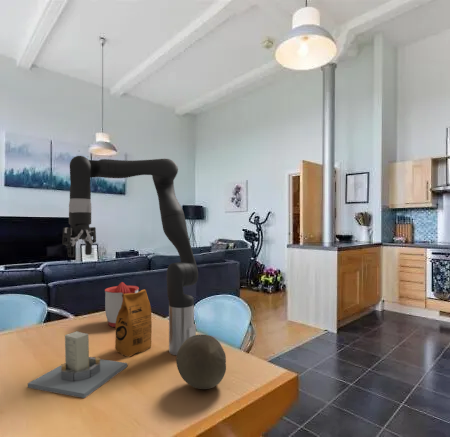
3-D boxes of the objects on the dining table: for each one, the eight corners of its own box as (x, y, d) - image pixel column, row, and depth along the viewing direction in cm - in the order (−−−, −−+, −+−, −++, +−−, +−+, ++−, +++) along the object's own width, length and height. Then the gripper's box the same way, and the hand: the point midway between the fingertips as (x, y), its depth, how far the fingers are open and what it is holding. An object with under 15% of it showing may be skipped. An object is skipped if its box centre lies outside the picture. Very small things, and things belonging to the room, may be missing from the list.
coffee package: (111, 351, 118) (111, 292, 118) (139, 342, 128) (139, 287, 128) (127, 358, 112) (127, 296, 112) (155, 347, 122) (155, 290, 122)
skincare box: (89, 373, 98) (89, 334, 99) (76, 379, 95) (76, 338, 95) (77, 368, 102) (77, 330, 102) (64, 374, 98) (64, 334, 98)
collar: (106, 367, 103) (106, 356, 103) (82, 383, 92) (82, 371, 92) (79, 362, 106) (79, 353, 106) (52, 378, 95) (52, 367, 95)
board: (127, 366, 106) (127, 362, 106) (84, 398, 87) (84, 393, 87) (78, 359, 111) (78, 355, 111) (27, 387, 92) (27, 383, 92)
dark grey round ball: (201, 372, 102) (201, 325, 102) (236, 386, 93) (235, 334, 93) (167, 390, 91) (167, 337, 91) (202, 408, 82) (202, 349, 82)
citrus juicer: (114, 333, 138) (114, 287, 139) (99, 323, 151) (99, 282, 152) (146, 325, 149) (146, 282, 149) (130, 317, 162) (130, 278, 162)
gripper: (85, 212, 124) (85, 253, 123) (56, 211, 110) (56, 257, 110) (101, 212, 122) (101, 254, 121) (74, 210, 108) (73, 258, 108)
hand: (80, 255), depth 116 cm, fingers open, 8 cm apart
